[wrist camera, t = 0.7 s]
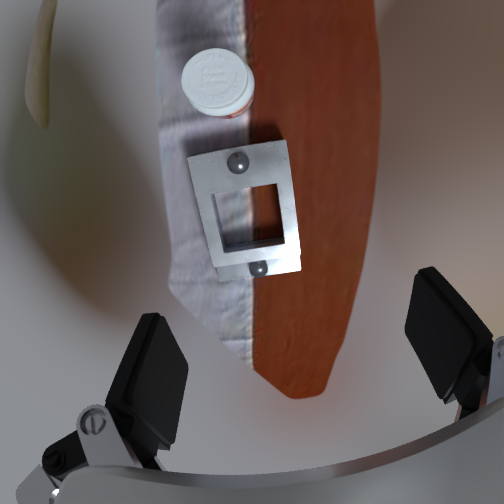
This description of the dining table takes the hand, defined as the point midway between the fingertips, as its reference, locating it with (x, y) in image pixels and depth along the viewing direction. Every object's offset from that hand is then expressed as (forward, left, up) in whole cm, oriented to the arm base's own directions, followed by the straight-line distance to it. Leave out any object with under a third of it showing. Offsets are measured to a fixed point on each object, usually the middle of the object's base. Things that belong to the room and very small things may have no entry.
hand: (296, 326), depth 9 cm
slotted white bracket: (+4, -3, -25) cm, 26 cm away
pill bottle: (-11, -3, -25) cm, 28 cm away
